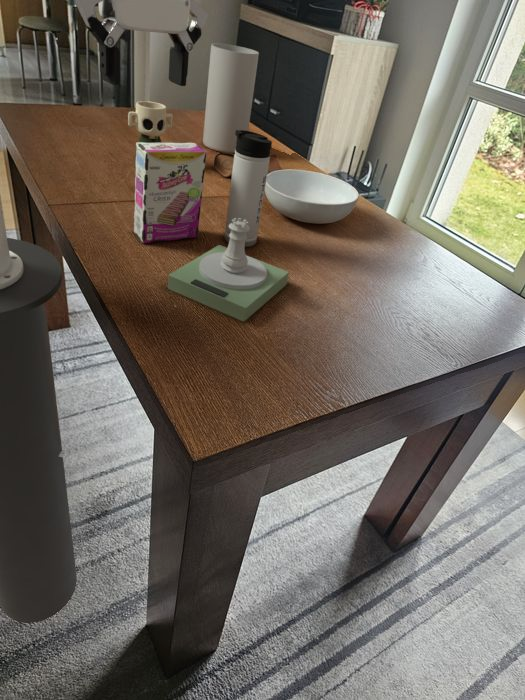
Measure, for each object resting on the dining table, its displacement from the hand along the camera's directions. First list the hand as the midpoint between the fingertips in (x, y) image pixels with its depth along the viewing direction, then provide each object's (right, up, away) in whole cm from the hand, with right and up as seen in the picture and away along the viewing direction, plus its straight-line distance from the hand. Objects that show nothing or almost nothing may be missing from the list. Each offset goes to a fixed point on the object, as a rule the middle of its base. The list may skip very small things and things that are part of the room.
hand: (145, 83), depth 65 cm
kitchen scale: (+10, -24, +19) cm, 32 cm away
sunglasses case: (+12, +12, +67) cm, 69 cm away
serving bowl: (+25, -4, +50) cm, 56 cm away
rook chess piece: (+10, -21, +17) cm, 29 cm away
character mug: (-13, +13, +62) cm, 65 cm away
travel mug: (+10, -13, +33) cm, 37 cm away
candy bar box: (-3, -13, +30) cm, 33 cm away
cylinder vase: (+4, +25, +82) cm, 86 cm away
